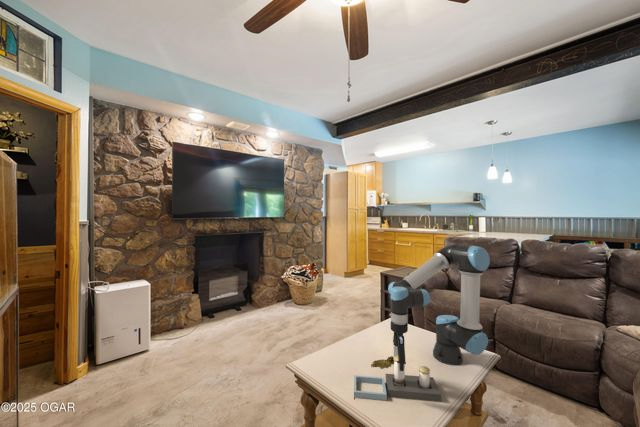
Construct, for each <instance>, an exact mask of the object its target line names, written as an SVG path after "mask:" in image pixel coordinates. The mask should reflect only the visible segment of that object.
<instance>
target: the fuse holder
mask: <svg viewBox="0 0 640 427" xmlns="http://www.w3.org/2000/svg"><path fill="white" fill-rule="evenodd" d="M385 386H386V392H387V396H388V397H387V398H398V399H408V400H418V401H428V402H429V401H431V402H438V403H441V402H442V392H441V391H440V389H439V387H438V385H437V383H436V380H435V379H434V376H433V377H431V376H430V389H427V388H419V375H408V374H407V375H406V374H405V378H404V386H394V373H385Z"/></svg>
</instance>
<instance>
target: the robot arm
mask: <svg viewBox="0 0 640 427" xmlns="http://www.w3.org/2000/svg"><path fill="white" fill-rule="evenodd" d="M490 260H491V258H490V255H489V253H488V251H487V250H486V249H485V248H484V247H481V246H477V245H469V244H462V243H461V244H460V243H452V244H449V245H447V246H444V247H442V248H441V249H439V250H438V251H436V252H434V254H433V255H432V257H431V258H429V259H428V260H427V261H425V262H424V263H423V264H422V265H420V266H418V268H416V269H414V271H412V272H410V273H409V274H408V275H407V276H405V277H404V278H402V279H401V280H400V281H391V282H390V283H389V284H388V288H387V290H388V293H389V295H390V313H389V317H390V330H391V331H392V332H393V337H392V338H393V339H392V343H393V344H392V345H393V357H395V356H398V361H397V363H398V377H399V378H405V375H406V374H405V372H406V371H405V367H406V366H405V365H406V364H407V361H406V351H405V349H406V348H405V347H406V346H405V335H404V334H406V333H407V332H408V330H409V329H408V327H409V326H408V325H409V323H408V322H409V309H412V308H417V307H418V308H420V307H421V308H422V307H425V306H428V305H429V304H430V302H431V295H430V293H429V291H428V290H426V289H417V288H418V287H420V286H421V285H423V284H424V283H425V282H426V281H428V280H429V279H430V278H432V277H433V276H434V275H436V274H437V273H438V272H440V271H441V270H442V269H447V268H448V267H450V266H457V270H458V272H459V274H460V276H461V277H460V278H461V279H460V307H459V308H460V312H459V313H460V315H459V317H460V318H459V317H458V316H455V315H450V314H442V315H438V316H437V317H436V320H435V321H436V322H435V336H436V338H435V340H436V341H435V344H434V347H433V348H432V349H433V350H432V355H433V358H434V359H435V360H437V361H438V362H441V363H443V364H446V365H449V366H450V365H452V366H455V365H457V366H459V365H461V364H462V363H463V361H464V357H463V354H462V351H461V349H463V350H464V351H465V352H467V353H470V354H472V355H475V356H477V355H481V354H482V353H484V351H485V350H486V349H487V346H488V344H489V338H488V335H487V334H486V333H485V332H483V328H484V327H483V325H482V324H481V323H480V308H481V307H480V301H481V300H480V299H481V298H480V296H481V276H482V275H483V274H484V272H485V271H486V270H487V269H489V266H490V263H491V261H490Z"/></svg>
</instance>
